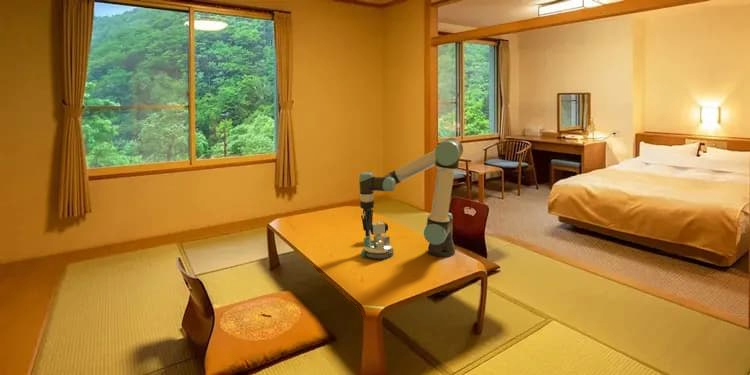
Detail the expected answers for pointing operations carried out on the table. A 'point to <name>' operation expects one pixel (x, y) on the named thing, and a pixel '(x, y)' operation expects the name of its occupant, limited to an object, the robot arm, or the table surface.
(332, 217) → the table surface
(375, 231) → the pneumatic valve
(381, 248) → the lathe chuck
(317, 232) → the table surface
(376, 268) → the table surface
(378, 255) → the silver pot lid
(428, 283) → the table surface
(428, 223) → the robot arm
